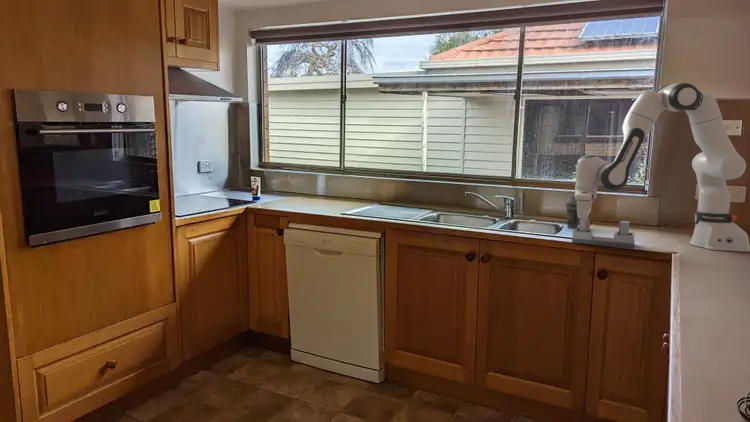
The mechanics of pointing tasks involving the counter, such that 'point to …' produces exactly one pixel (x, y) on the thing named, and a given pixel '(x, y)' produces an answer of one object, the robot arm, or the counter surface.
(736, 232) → the robot arm
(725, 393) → the counter surface
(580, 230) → the grey and orange block
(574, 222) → the beverage cup
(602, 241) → the rail
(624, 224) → the block
